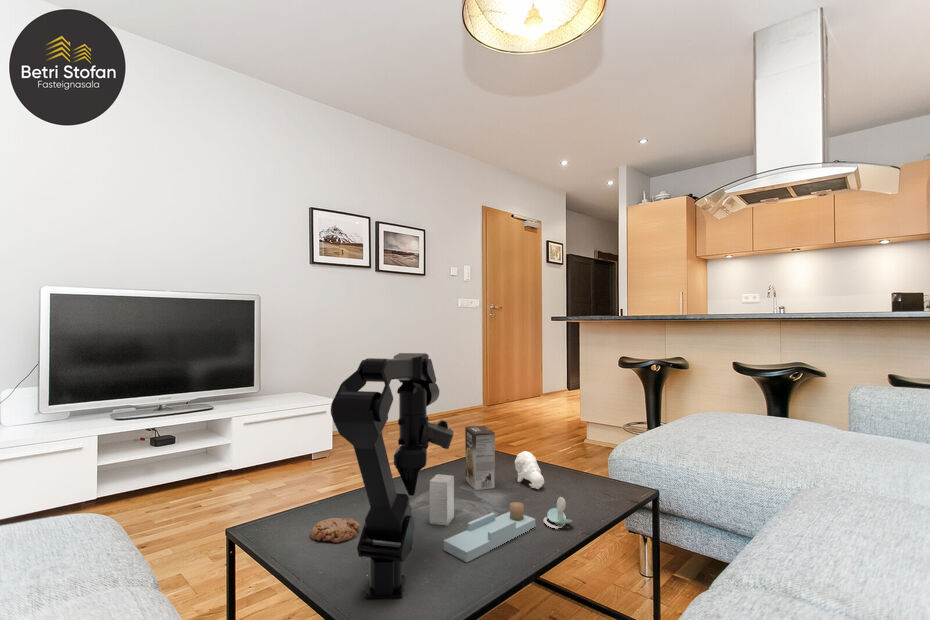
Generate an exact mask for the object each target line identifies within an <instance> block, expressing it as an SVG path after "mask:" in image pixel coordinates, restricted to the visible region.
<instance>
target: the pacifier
mask: <svg viewBox="0 0 930 620" xmlns="http://www.w3.org/2000/svg"><path fill="white" fill-rule="evenodd" d="M566 505H567V503H566V500H565V498H564V497H562V496H559V497H558V499H557V501H556V507H552V508H550V509H549V510H548V511H547V514H546V515H547V516H546V517H544V518H543V521H542V522H543V524H544V523H545V524H546V525H547V526H546V525H545V524H544V525H545V526H546V527H548V526H549V527H548V528H550V527H551V528H550V529H552V528H555V529H554V530H559V529H558V528H562V527H563V526H564V525H565V526H566V524H570V523H573V519H567V516H566V514H565V513H564V511H565V509H566ZM547 519H549V520H548V521H547ZM549 521H550V522H551V523H550V522H549ZM553 522H554V523H555V524H557V525H559V526H556V525H555V524H554V523H553ZM552 523H553V524H552ZM563 528H564V527H563ZM563 528H562V529H563Z"/></svg>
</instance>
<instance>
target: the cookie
mask: <svg viewBox="0 0 930 620" xmlns="http://www.w3.org/2000/svg"><path fill="white" fill-rule="evenodd" d="M360 528H361V527H360V523H359V522H357V521H356V520H354V519H353V518H351V517H350V518H341V517H334V518H333V517H330V518H327V519H324V520H321V521H319V522H317V523H315V524H314V526H313V527H312V528H311V531H310V538H311V540H315V541H318V542H319V541H320V542H327V541H328V542H329V541H331V543H336V544H337V543H340V542H344V541H347V540H351V539H355V537H357V536H358V534H359V532H360Z"/></svg>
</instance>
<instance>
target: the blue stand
mask: <svg viewBox="0 0 930 620" xmlns="http://www.w3.org/2000/svg"><path fill="white" fill-rule="evenodd" d="M524 507H525V506H524V503H522V502H519V501H513V502H510V503H509V511H507V512H505V513H503V514H501V515H499V516H496V513H495V512H493V511H492V512H490V513H488V514H486V515H483V516H480V517H478V518H476V519H474V520H472V521H469V522H467V530H464V531H462V532H460V533H457V534H454V535H452V536H450V537H448V538H446V539H443V551H445V552H447V553H448V554H450V555H452V556H454V557H456V558H458V559H460V560H461V561H463V562H465V563H469V562H470V561H473V560H475V559H477V558H479V557H480V556H482V555H484V554H487V553H489V552H490V550H491V551H492V549H493V550H495V549H497V548H498V546H499V547H500V545H501V546H502V544H503V545H504V543H505V544H507V543H508V542H507V541H509V542H511V541H512V540H511V539H513V540H514V538H515V537H516V538H518V537H520V536H522V535H524V534H526V533H528V532H530V531H531V530H530V529H532V528H534V527H536V518H533V517H531V516H528V515H525V513H524V509H525V508H524ZM534 529H535V528H534ZM529 530H530V531H529ZM532 530H533V529H532ZM527 531H528V532H527ZM525 532H526V533H525ZM523 533H524V534H523ZM521 534H522V535H521ZM519 535H520V536H519ZM517 536H518V537H517ZM516 538H515V539H516ZM510 540H511V541H510ZM506 542H507V543H506ZM496 547H497V548H496ZM494 548H495V549H494Z"/></svg>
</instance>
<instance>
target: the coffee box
mask: <svg viewBox="0 0 930 620" xmlns="http://www.w3.org/2000/svg"><path fill="white" fill-rule="evenodd" d="M464 428H465V431H464V432H465V434H464V435H465V436H464V437H465V438H464V439H465V440H464V441H465V444H464V445H465V482H467V483H468V484H469V486H470V487H472V488H473V490H474V491H481V490H488V489H489V490H490V489H495V487H496V485H495V484H496V483H495V481H496V477H495V476H496V475H495V474H496V473H495V472H496V469H495V468H496V460H495V459H496V454H495V453H496V443H495V442H496V439H495V437H496V434H495V431H493V430H492V429H491V428H489V427H488V426H486V425H470V426H469V425H468V426H465V427H464Z"/></svg>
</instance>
